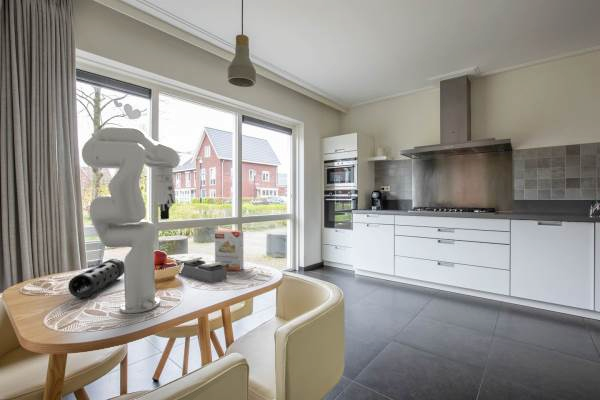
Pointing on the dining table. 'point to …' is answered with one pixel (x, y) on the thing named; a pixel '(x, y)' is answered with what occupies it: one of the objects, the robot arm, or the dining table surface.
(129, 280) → the robot arm
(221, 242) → the cracker box
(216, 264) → the near rocker
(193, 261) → the far rocker
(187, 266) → the switch box
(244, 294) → the dining table surface
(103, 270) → the muzzle brake
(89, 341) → the dining table surface
